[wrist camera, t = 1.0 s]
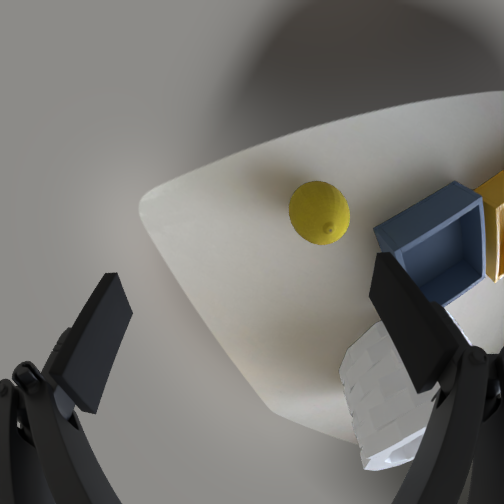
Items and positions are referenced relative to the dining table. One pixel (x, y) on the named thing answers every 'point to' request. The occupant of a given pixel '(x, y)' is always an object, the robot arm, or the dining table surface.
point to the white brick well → (384, 400)
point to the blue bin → (440, 242)
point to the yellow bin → (494, 224)
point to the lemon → (319, 212)
